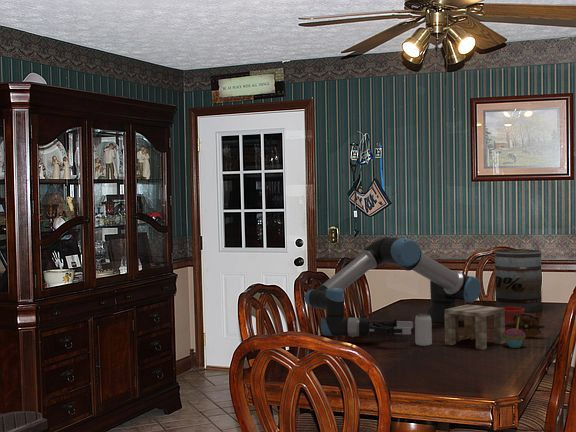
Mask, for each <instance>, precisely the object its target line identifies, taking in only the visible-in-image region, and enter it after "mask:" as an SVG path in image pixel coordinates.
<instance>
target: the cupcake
mask: <svg viewBox="0 0 576 432" xmlns="http://www.w3.org/2000/svg"><path fill="white" fill-rule="evenodd" d="M519 317H520V316H519ZM519 319H520V318H518V321H517V327H516V328H513V329H508V330H506V331H504V332H503V337H504V338H505V342H506V344H507V346H508V347H509V348H512V349H514V348H515V349H518V348H521V347H522V343H523V342H524V339H526V337H525V335H526V334H525V333H524V332H523V331H522V330H519V329H518V326H519Z"/></svg>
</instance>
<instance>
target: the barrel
mask: <svg viewBox="0 0 576 432" xmlns="http://www.w3.org/2000/svg"><path fill="white" fill-rule="evenodd" d="M494 275H495V277H494V278H495V280H494V282H495V284H494V285H495V286H494V287H495V291H494V292H495V307H498V308H500V307H520V308H524V313H528V314H536V313H540V312H542V311H543V310H542V309H543V307H542V305H543V302H542V301H543V300H542V297H543V296H542V294H543V293H542V250H539V249H526V248H525V249H521V248H520V249H498V250H497V249H496V250H494Z"/></svg>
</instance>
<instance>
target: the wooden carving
mask: <svg viewBox="0 0 576 432" xmlns="http://www.w3.org/2000/svg"><path fill="white" fill-rule="evenodd" d="M519 316H520V317H519ZM518 318H520V319H519V326H518V329H519V330H522V331H523V332H524V333H525V334H526V335H525V338H533V337H535V336H538V335H540V334H542V331H541V330H540V329H545V328H546V326H545V325H540V318H539V315H534V314H533V313H522V314H519V315H516V314H515V315H514V318H513V320H514V323H508V324H505V328H506V330H508V329H513V328H516V327H517V321H518Z"/></svg>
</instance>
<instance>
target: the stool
mask: <svg viewBox="0 0 576 432" xmlns="http://www.w3.org/2000/svg"><path fill="white" fill-rule="evenodd" d="M455 314H457V315H460V316H464V315H466V316H474V317H475V320H476V339H475V349H477V350H486V349H487V348H488V346H487V345H488V344H487V343H488V340H487V339H488V336H487V333H488V332H487V317H488V316H493V332H494V333H493V334H494V335H493V336H494V337H493V338H494V341H493V342H494V344H499V345H502V344H505V343H506V339H505V338H504V337H503V332H504V331H505V311H504V308H498V307H496V306H488V305H487V306H485V305H475V304H474V305H473V304H464V305H459V306H457V307H454V308H449V309H445V323H444V344H445V345H448V346H453V345H456V344H457V342H456V333H455Z"/></svg>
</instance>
